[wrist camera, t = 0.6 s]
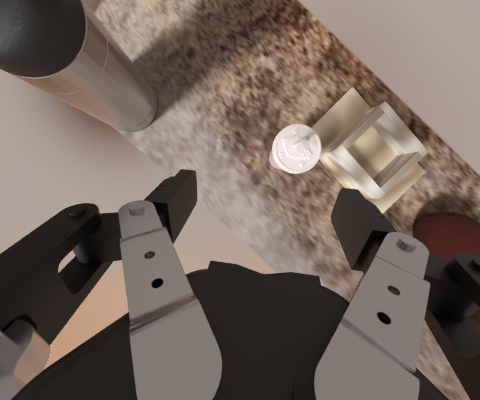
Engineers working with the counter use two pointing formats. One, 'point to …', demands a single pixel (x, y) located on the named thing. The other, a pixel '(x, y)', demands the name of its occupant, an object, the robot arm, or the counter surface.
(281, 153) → the smoothie
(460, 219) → the potato
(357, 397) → the robot arm
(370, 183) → the dock
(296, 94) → the counter surface
